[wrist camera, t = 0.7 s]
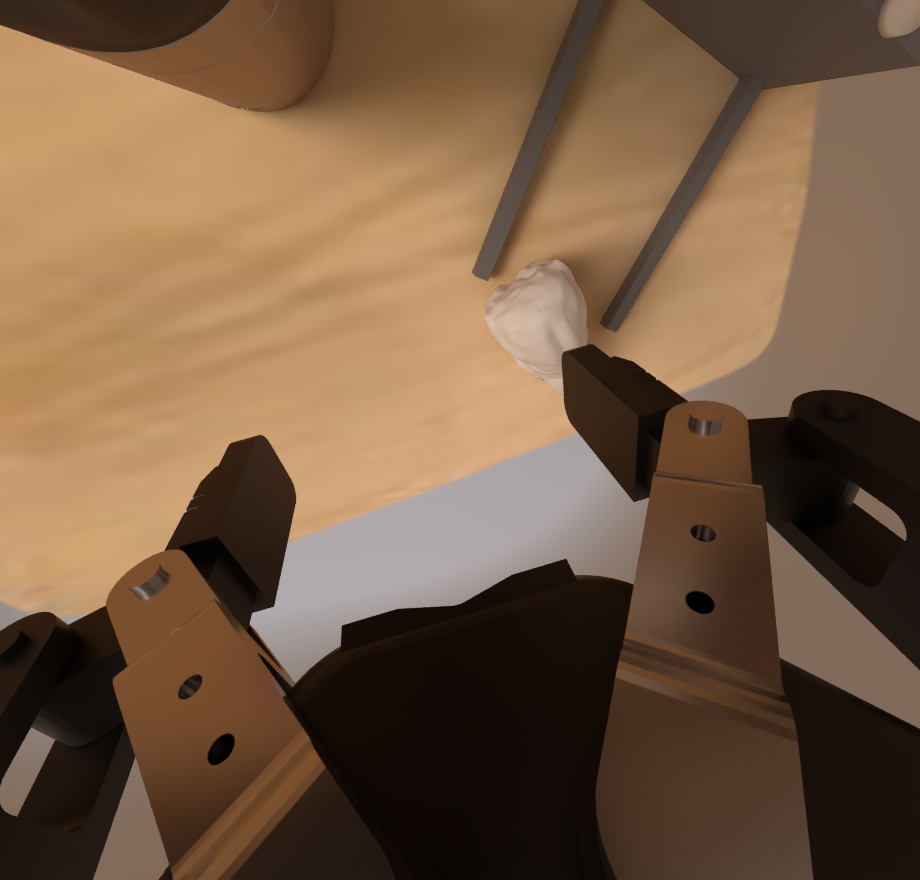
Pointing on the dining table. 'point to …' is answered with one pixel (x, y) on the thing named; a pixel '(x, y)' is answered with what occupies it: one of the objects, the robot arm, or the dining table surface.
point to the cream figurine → (539, 319)
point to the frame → (759, 67)
